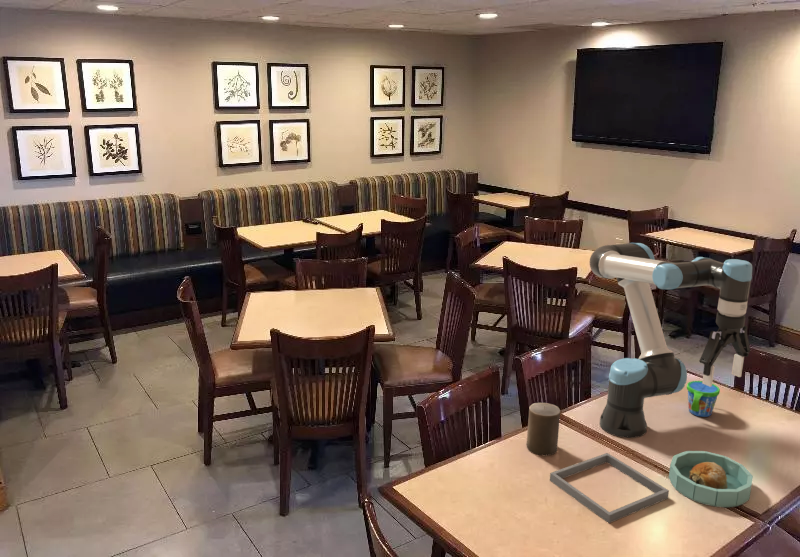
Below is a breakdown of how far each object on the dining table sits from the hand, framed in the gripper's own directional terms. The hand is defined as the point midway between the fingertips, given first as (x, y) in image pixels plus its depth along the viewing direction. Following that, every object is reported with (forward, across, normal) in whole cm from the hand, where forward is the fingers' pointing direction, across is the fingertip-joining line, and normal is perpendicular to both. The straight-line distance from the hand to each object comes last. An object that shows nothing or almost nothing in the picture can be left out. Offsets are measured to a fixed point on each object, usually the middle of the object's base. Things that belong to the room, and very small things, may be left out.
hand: (721, 380), depth 198 cm
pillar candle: (+27, -41, +31) cm, 58 cm away
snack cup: (+27, +24, +22) cm, 42 cm away
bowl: (+27, -13, -9) cm, 31 cm away
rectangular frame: (+27, -40, +4) cm, 48 cm away
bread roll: (+26, -13, -9) cm, 31 cm away
